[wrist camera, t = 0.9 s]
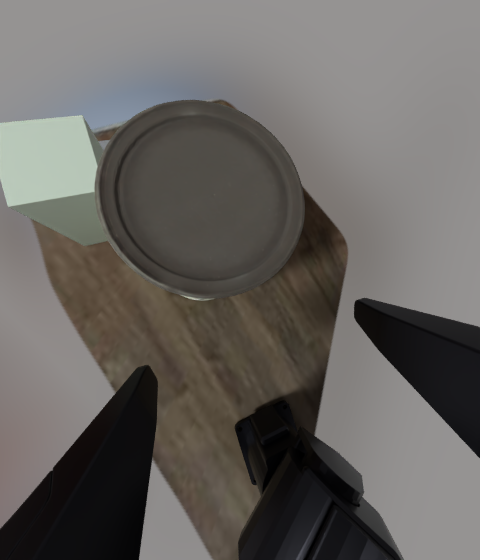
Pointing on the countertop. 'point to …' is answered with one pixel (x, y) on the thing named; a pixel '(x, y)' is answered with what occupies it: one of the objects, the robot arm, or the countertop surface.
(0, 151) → the tea tin
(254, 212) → the coffee can
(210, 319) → the countertop surface
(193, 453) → the countertop surface
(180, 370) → the countertop surface
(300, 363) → the countertop surface
